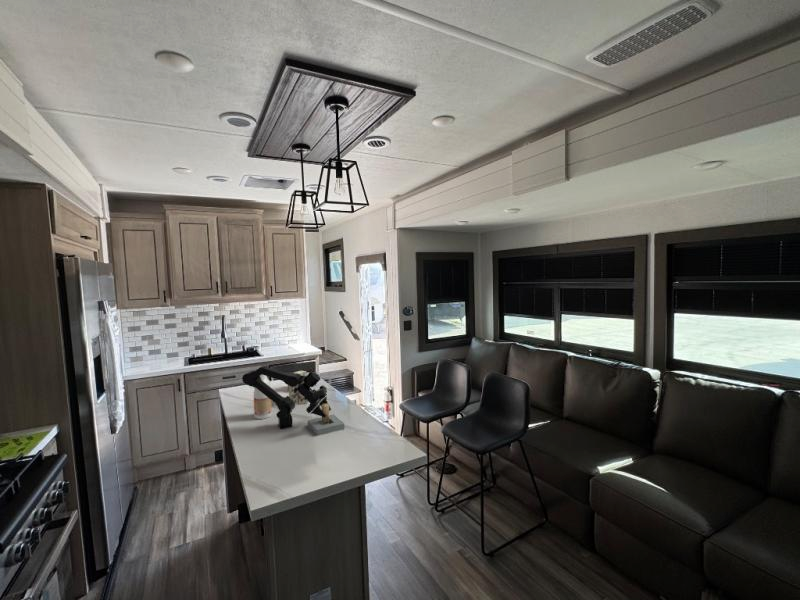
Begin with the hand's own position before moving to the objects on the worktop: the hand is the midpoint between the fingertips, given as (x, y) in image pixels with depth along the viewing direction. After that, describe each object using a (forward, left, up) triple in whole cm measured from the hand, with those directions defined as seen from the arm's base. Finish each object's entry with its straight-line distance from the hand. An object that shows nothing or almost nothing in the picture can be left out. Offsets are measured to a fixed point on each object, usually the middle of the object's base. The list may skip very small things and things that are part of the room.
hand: (328, 413), depth 200 cm
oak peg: (-1, +1, -8) cm, 8 cm away
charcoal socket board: (-1, +1, -8) cm, 8 cm away
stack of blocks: (+10, +76, -8) cm, 77 cm away
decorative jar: (-1, +49, -8) cm, 50 cm away
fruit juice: (-26, +36, -8) cm, 45 cm away
